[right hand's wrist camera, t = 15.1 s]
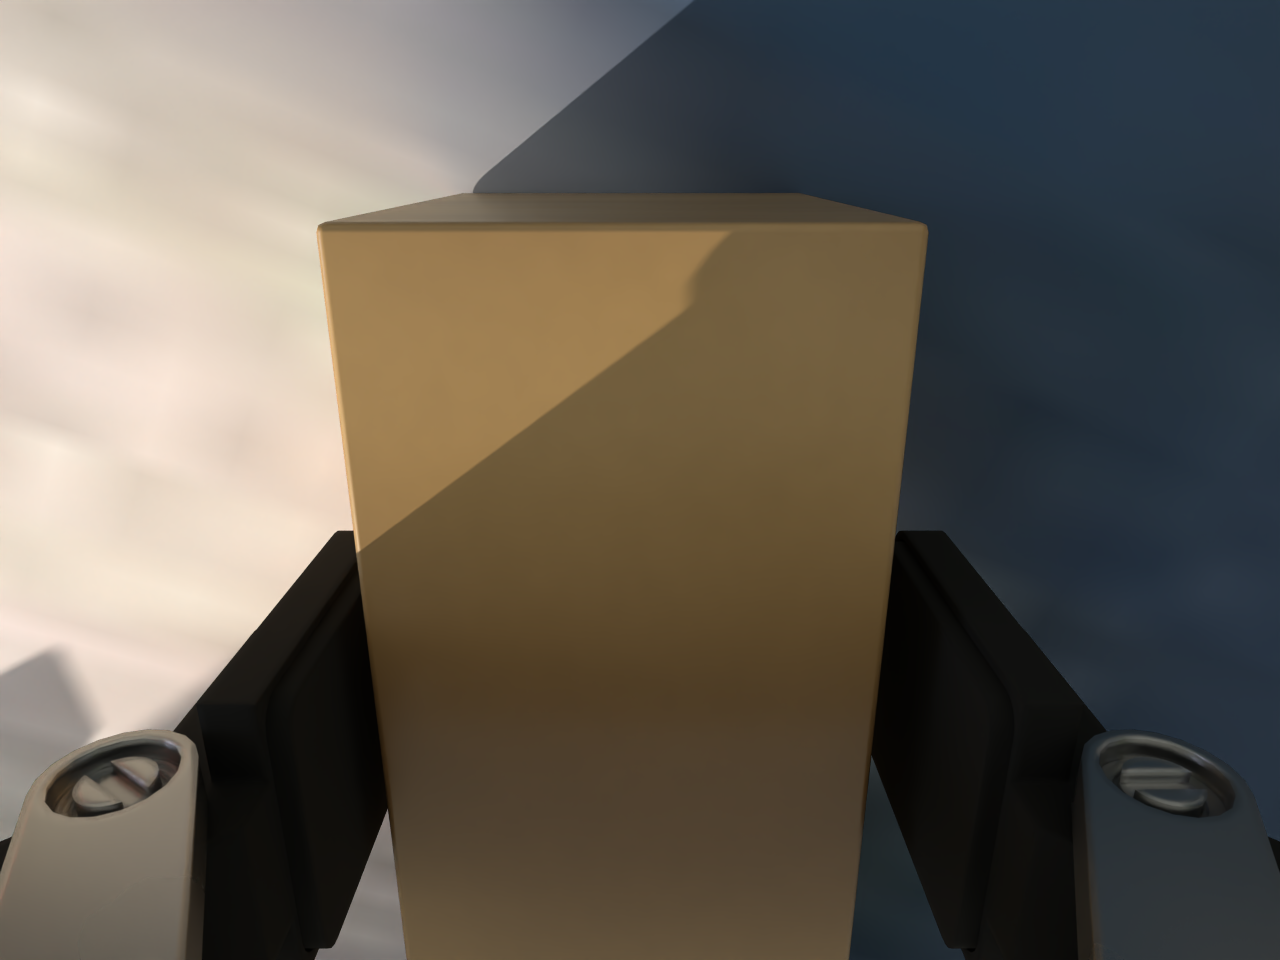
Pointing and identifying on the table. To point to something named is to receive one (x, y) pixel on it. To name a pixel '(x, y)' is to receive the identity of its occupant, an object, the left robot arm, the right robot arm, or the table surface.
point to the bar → (625, 558)
